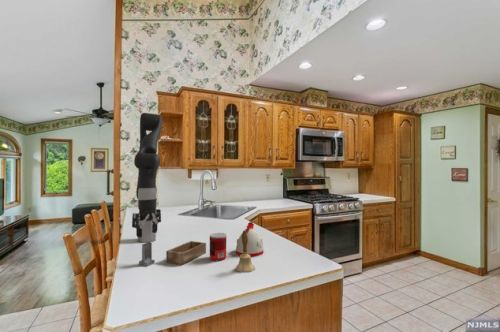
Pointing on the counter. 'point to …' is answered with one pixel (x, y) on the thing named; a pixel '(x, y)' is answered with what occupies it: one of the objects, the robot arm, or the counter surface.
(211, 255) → the canned food
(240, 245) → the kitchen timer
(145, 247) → the bracket
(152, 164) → the robot arm
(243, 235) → the hand bell
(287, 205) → the counter surface
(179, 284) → the counter surface
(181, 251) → the open wooden box
